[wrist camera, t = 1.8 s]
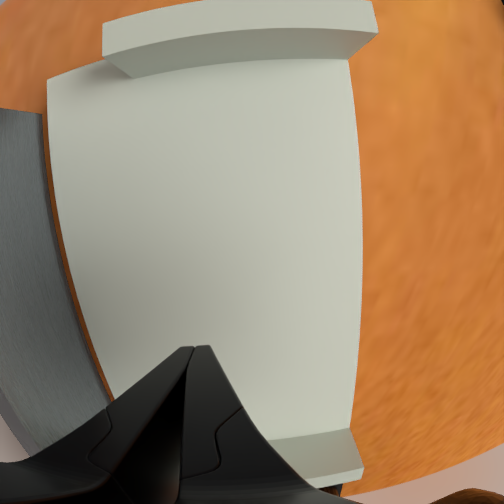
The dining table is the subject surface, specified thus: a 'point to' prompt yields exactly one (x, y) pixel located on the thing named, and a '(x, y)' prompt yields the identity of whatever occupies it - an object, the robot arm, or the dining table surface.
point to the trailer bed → (224, 207)
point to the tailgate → (37, 302)
